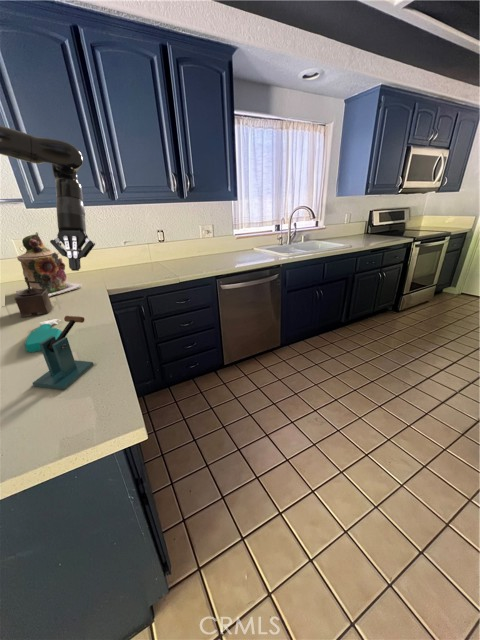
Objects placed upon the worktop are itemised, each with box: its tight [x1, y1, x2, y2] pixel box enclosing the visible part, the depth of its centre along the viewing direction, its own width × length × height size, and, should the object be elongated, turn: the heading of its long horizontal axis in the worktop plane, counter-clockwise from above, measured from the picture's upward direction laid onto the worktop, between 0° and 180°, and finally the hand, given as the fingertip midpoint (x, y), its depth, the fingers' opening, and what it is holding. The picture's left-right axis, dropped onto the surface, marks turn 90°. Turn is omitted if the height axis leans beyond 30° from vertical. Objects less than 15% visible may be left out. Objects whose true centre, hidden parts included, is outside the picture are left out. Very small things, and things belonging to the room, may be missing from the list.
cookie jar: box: [15, 231, 83, 298], centre depth 145 cm, size 25×25×32 cm
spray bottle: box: [24, 318, 63, 353], centre depth 101 cm, size 3×11×24 cm
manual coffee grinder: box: [14, 274, 53, 318], centre depth 121 cm, size 16×11×18 cm
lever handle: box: [46, 315, 86, 352], centre depth 78 cm, size 12×6×2 cm, turn 170°
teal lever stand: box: [32, 336, 94, 391], centre depth 76 cm, size 12×10×12 cm
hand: (75, 270), depth 85 cm, fingers closed
